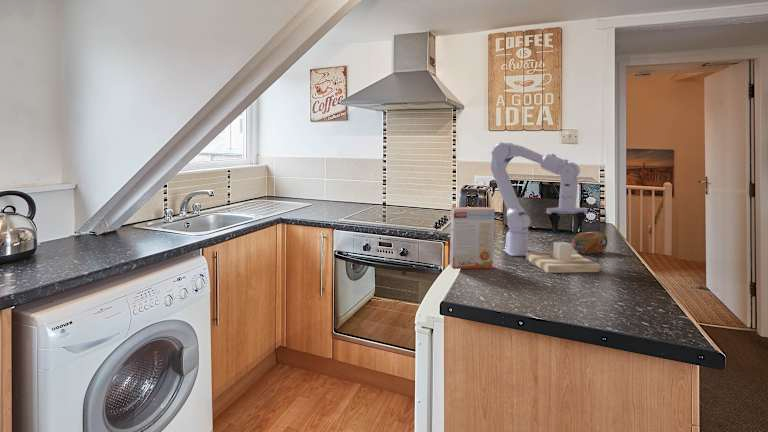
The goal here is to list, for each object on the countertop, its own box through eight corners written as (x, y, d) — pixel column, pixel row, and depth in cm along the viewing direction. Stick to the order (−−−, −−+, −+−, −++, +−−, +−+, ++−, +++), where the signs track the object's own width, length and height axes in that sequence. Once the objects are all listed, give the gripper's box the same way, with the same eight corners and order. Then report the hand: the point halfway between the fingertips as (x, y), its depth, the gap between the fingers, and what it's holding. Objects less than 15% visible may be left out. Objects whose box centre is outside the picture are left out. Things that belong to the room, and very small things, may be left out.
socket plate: (525, 258, 158) (526, 252, 158) (571, 258, 160) (572, 251, 159) (547, 272, 140) (548, 265, 140) (599, 271, 142) (600, 264, 141)
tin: (575, 254, 166) (577, 233, 165) (570, 252, 169) (571, 232, 168) (607, 252, 170) (609, 231, 169) (601, 250, 173) (602, 230, 172)
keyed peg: (558, 267, 147) (560, 244, 146) (550, 262, 153) (551, 241, 152) (570, 266, 148) (572, 244, 147) (561, 262, 153) (563, 241, 152)
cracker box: (487, 264, 150) (490, 206, 147) (492, 269, 144) (495, 208, 141) (448, 264, 149) (450, 206, 146) (452, 269, 144) (454, 208, 140)
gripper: (553, 197, 148) (551, 235, 150) (593, 197, 149) (590, 235, 151) (544, 195, 155) (542, 231, 157) (582, 195, 156) (579, 231, 158)
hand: (565, 233), depth 155 cm, fingers open, 7 cm apart
